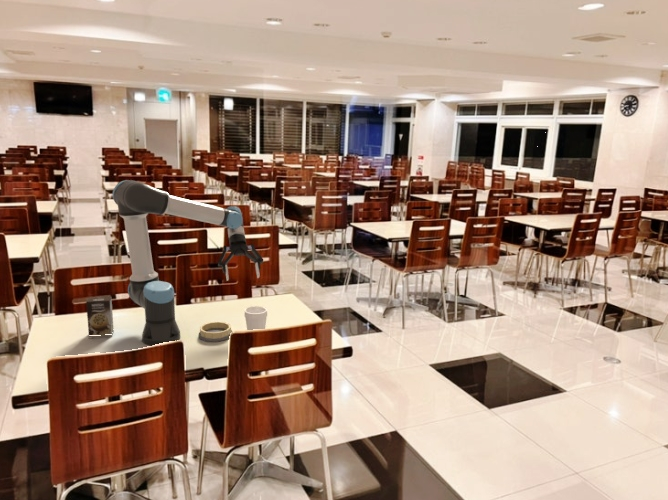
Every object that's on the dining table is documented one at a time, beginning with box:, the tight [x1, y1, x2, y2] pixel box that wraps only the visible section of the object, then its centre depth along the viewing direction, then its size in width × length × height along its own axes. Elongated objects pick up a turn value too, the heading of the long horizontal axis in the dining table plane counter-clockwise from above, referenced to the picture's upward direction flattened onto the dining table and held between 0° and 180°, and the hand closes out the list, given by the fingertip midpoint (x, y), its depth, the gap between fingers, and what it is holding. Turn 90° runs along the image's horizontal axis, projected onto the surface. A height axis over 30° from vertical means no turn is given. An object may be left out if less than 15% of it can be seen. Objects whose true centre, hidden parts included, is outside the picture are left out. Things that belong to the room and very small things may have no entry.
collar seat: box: [198, 321, 233, 343], centre depth 220 cm, size 14×14×4 cm
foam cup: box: [244, 305, 268, 330], centre depth 217 cm, size 10×9×13 cm
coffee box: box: [85, 295, 115, 339], centre depth 216 cm, size 9×6×16 cm
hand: (243, 278), depth 229 cm, fingers open, 13 cm apart
